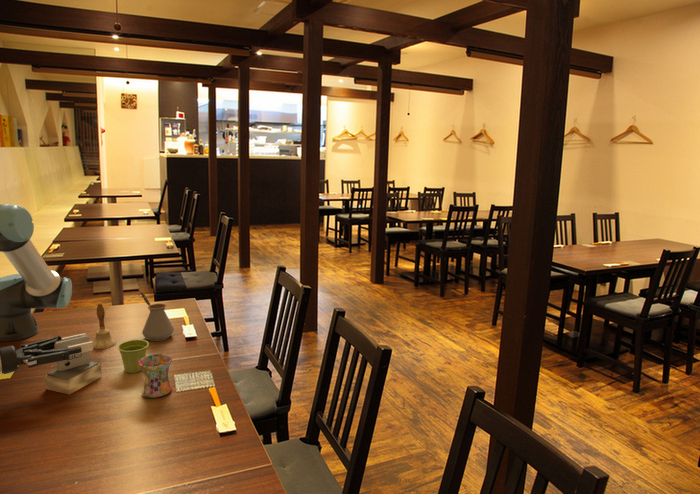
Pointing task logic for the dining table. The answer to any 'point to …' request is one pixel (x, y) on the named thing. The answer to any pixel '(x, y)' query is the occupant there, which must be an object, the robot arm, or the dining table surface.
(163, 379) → the mug
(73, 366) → the electrical switch
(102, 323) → the hand bell
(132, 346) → the plant pot
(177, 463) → the dining table surface
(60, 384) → the birch stand
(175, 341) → the dining table surface
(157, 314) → the coffee pot
